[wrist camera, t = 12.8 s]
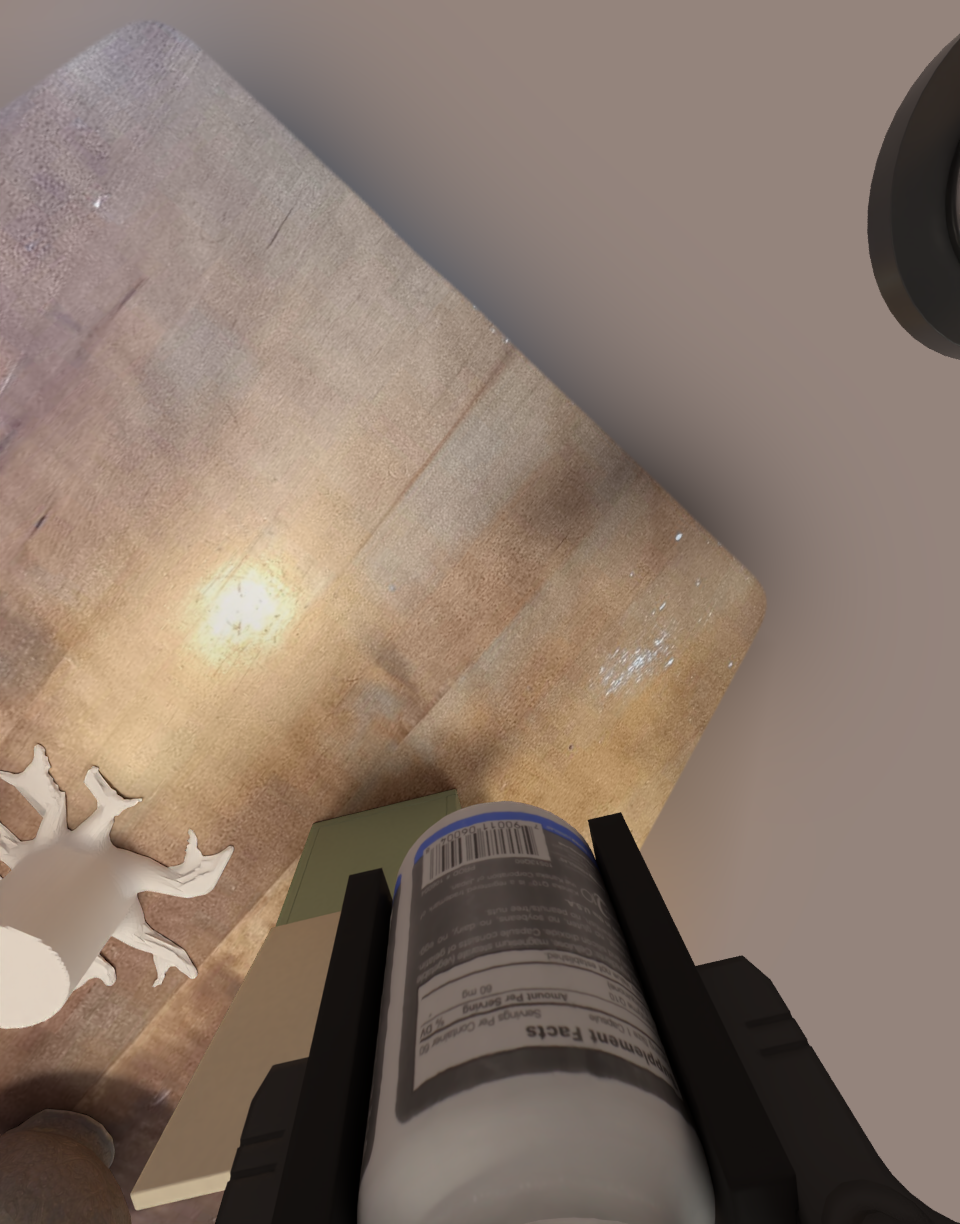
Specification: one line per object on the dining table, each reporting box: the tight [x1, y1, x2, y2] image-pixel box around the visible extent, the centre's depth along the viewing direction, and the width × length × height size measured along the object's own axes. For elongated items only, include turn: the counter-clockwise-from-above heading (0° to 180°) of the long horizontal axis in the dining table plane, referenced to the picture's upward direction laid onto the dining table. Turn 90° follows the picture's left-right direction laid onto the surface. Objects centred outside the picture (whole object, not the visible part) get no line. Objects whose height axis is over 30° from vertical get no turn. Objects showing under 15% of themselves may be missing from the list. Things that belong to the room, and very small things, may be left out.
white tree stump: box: [0, 744, 234, 1029], centre depth 44 cm, size 23×25×9 cm
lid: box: [130, 911, 341, 1210], centre depth 29 cm, size 15×13×1 cm
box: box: [276, 789, 462, 927], centre depth 45 cm, size 15×13×11 cm
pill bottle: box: [357, 801, 715, 1224], centre depth 9 cm, size 5×5×8 cm
